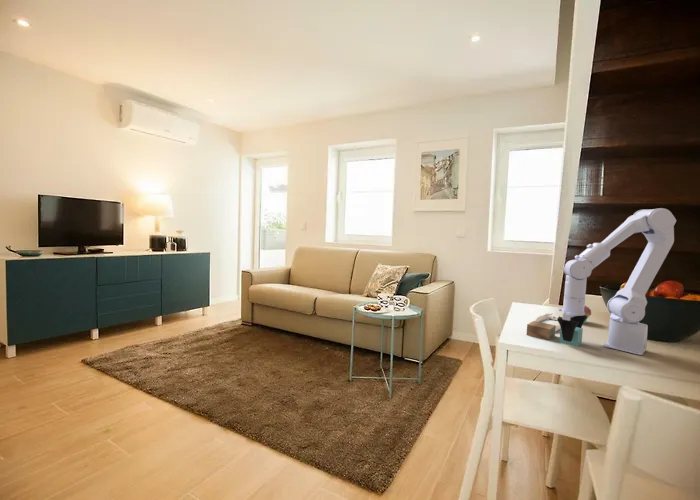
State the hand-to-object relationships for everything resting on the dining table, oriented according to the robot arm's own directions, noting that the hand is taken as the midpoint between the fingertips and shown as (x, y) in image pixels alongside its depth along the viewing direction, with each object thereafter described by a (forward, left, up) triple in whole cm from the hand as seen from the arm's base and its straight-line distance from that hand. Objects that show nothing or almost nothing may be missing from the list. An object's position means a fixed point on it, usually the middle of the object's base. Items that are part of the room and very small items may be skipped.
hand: (570, 338), depth 113 cm
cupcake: (+6, -32, -2) cm, 33 cm away
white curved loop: (+12, -18, -2) cm, 22 cm away
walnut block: (+9, 0, -2) cm, 9 cm away
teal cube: (0, 0, -2) cm, 2 cm away
